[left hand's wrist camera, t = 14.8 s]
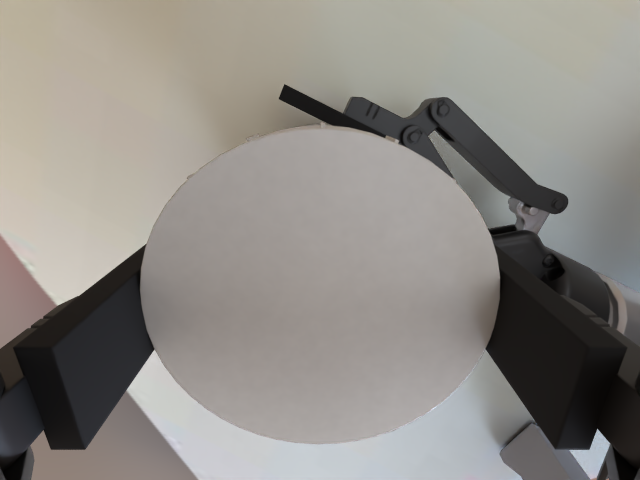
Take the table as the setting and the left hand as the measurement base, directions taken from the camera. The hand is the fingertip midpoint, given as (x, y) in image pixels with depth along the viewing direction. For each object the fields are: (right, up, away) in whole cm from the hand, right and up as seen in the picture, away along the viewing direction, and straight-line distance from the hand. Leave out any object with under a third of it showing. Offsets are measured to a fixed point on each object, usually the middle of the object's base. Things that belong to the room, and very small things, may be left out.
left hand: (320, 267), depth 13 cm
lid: (0, -1, -3) cm, 3 cm away
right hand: (-4, +5, +7) cm, 9 cm away
